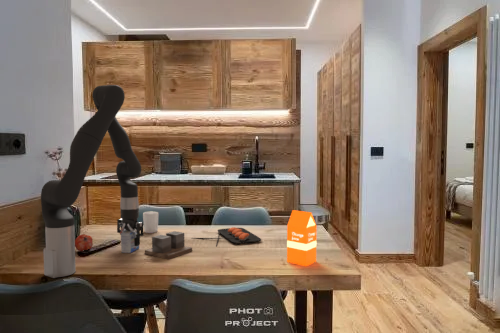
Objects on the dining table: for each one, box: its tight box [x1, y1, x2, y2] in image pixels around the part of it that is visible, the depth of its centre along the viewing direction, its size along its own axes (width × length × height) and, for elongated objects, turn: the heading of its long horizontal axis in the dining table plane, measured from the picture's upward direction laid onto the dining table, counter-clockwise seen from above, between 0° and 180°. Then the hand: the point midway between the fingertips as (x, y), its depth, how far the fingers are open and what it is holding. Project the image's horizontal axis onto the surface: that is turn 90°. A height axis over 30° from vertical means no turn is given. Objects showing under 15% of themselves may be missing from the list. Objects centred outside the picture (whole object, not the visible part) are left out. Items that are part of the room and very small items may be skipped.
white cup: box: [142, 210, 159, 234], centre depth 202 cm, size 8×8×10 cm
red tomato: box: [75, 233, 94, 252], centre depth 166 cm, size 7×7×10 cm
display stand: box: [144, 230, 193, 260], centre depth 163 cm, size 14×14×8 cm
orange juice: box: [286, 209, 318, 267], centre depth 150 cm, size 8×9×20 cm
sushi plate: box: [192, 226, 262, 247], centre depth 187 cm, size 29×30×4 cm
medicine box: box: [120, 229, 140, 254], centre depth 166 cm, size 8×4×9 cm, turn 168°
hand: (130, 244), depth 166 cm, fingers open, 8 cm apart
